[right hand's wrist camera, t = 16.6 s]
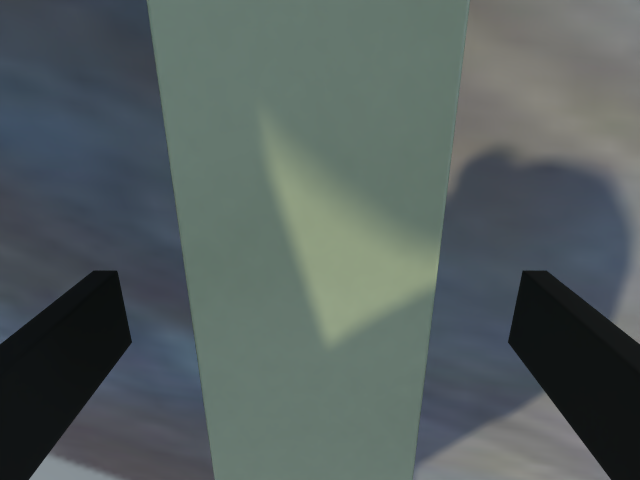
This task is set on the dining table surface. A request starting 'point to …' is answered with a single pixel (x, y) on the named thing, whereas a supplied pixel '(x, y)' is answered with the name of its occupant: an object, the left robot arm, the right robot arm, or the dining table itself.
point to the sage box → (310, 220)
